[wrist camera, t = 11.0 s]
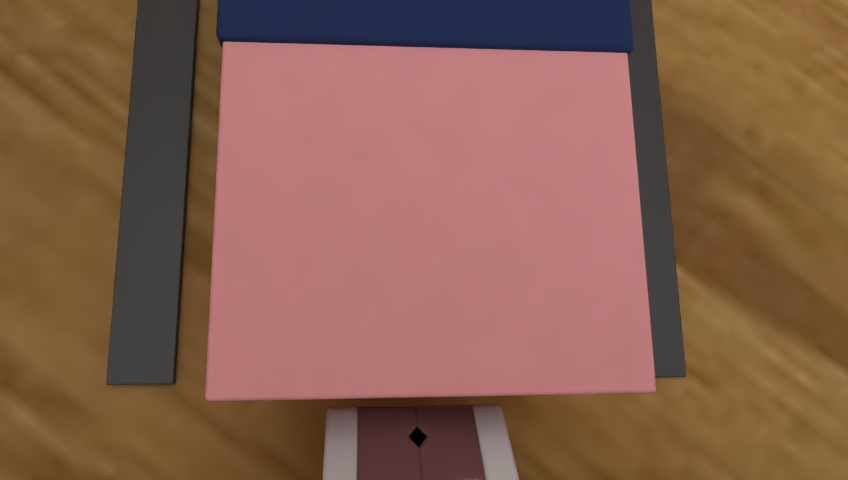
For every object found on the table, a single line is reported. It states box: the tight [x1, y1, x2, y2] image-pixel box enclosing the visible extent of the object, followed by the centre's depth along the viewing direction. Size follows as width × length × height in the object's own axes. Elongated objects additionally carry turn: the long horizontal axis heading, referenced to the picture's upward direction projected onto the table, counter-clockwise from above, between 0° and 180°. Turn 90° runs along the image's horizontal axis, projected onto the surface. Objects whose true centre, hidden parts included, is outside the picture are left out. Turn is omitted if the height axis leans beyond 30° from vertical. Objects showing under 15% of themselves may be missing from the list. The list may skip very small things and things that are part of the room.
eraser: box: [205, 0, 656, 401], centre depth 14 cm, size 13×6×8 cm, turn 1°
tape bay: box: [106, 0, 686, 385], centre depth 17 cm, size 13×14×1 cm
